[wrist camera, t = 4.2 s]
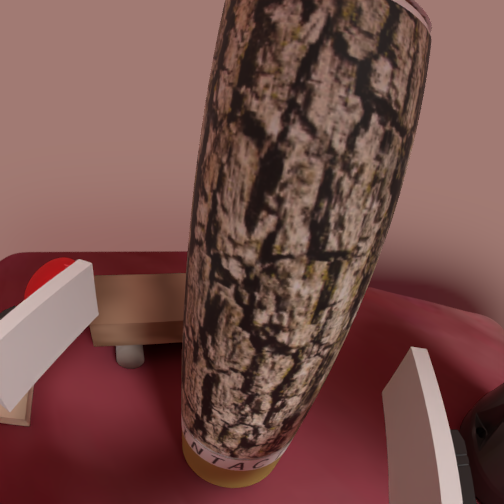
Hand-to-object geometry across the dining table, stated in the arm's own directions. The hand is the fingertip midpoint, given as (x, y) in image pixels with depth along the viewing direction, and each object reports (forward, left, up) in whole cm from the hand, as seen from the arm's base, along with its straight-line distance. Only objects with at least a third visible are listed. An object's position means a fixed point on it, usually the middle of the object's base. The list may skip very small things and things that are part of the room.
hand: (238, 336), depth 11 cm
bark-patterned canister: (-2, -1, -13) cm, 13 cm away
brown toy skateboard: (-3, -14, -13) cm, 19 cm away
